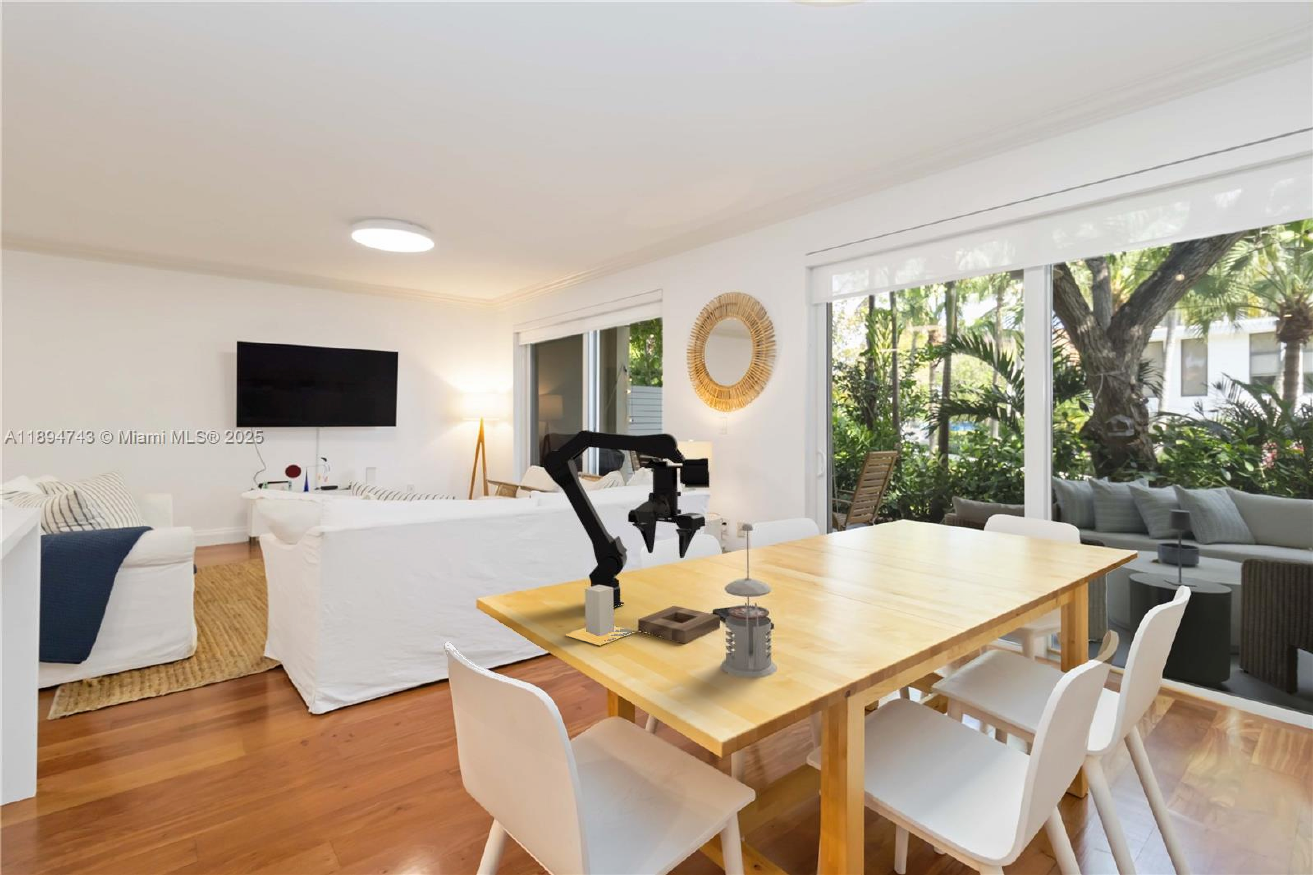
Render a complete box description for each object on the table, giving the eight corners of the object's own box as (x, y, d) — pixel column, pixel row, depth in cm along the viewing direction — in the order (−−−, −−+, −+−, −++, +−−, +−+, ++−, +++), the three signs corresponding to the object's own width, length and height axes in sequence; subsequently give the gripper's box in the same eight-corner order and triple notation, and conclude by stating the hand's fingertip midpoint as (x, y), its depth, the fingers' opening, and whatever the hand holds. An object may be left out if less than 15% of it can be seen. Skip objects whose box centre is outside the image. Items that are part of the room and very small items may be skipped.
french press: (773, 656, 115) (771, 519, 114) (783, 682, 103) (782, 529, 103) (718, 656, 115) (717, 519, 115) (723, 682, 104) (721, 530, 103)
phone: (742, 605, 144) (776, 624, 130) (742, 610, 144) (776, 630, 130) (710, 609, 142) (741, 629, 127) (710, 614, 142) (741, 635, 127)
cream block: (585, 633, 128) (585, 588, 127) (599, 627, 131) (598, 584, 131) (600, 637, 125) (599, 591, 125) (613, 631, 128) (613, 587, 128)
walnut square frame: (638, 631, 129) (638, 619, 129) (674, 617, 139) (673, 605, 139) (685, 643, 122) (685, 630, 122) (719, 627, 131) (719, 615, 131)
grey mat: (564, 636, 127) (564, 634, 127) (599, 623, 135) (599, 621, 135) (600, 646, 121) (600, 644, 121) (635, 632, 129) (635, 630, 129)
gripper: (611, 488, 145) (612, 556, 146) (676, 493, 134) (676, 567, 134) (642, 484, 154) (643, 548, 154) (706, 489, 142) (706, 558, 143)
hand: (665, 555), depth 146 cm, fingers open, 9 cm apart
